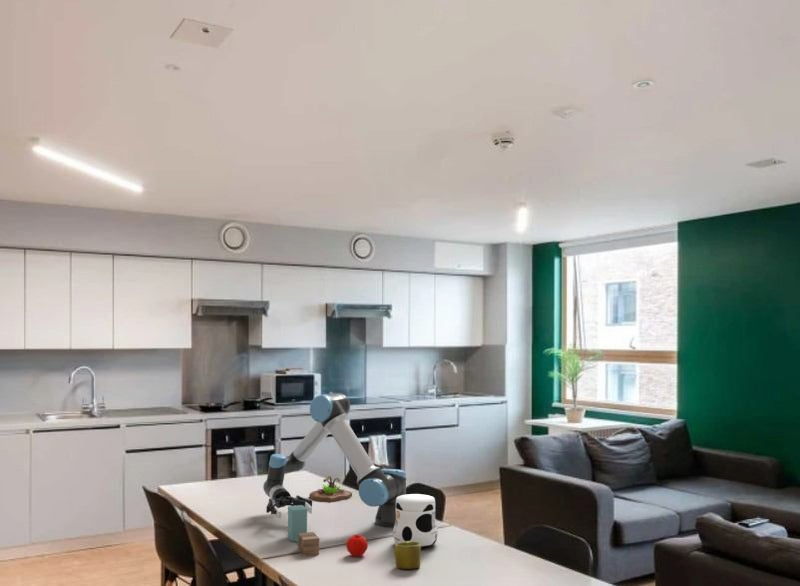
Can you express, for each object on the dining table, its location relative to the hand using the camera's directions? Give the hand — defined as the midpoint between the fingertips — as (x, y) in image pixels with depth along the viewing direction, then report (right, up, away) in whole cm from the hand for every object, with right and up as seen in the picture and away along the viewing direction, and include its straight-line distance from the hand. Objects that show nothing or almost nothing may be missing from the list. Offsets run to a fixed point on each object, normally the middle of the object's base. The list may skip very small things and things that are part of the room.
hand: (295, 512), depth 293 cm
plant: (+8, -13, +64) cm, 65 cm away
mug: (+47, -5, -43) cm, 64 cm away
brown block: (+9, -6, -29) cm, 30 cm away
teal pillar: (+2, -7, -11) cm, 13 cm away
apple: (+28, -6, -33) cm, 43 cm away
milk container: (+50, -7, -19) cm, 53 cm away
